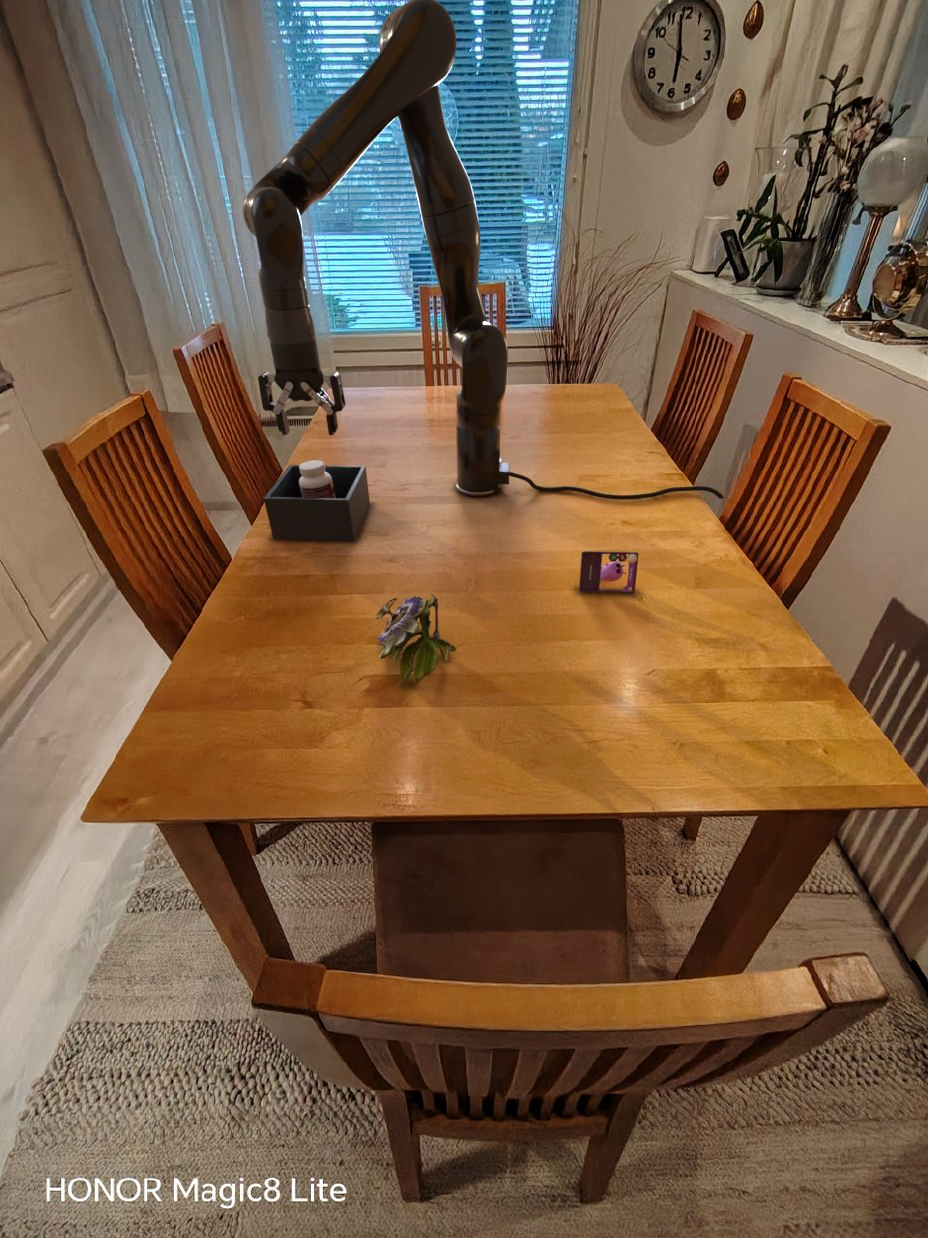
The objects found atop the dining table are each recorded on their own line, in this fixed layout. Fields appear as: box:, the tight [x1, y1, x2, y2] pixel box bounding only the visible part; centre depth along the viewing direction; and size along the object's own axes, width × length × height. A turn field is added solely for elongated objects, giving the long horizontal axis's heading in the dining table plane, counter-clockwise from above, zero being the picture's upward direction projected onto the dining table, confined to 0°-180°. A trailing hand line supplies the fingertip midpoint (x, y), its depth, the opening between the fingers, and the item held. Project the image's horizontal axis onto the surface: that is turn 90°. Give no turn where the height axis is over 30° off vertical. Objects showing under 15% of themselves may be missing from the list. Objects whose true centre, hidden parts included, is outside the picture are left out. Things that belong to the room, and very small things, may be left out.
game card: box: [578, 550, 640, 594], centre depth 97 cm, size 7×5×9 cm
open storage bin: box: [263, 464, 371, 543], centre depth 115 cm, size 16×16×8 cm
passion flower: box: [375, 593, 457, 686], centre depth 82 cm, size 11×11×12 cm
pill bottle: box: [299, 459, 336, 498], centre depth 114 cm, size 6×6×11 cm
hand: (309, 433), depth 107 cm, fingers open, 8 cm apart
